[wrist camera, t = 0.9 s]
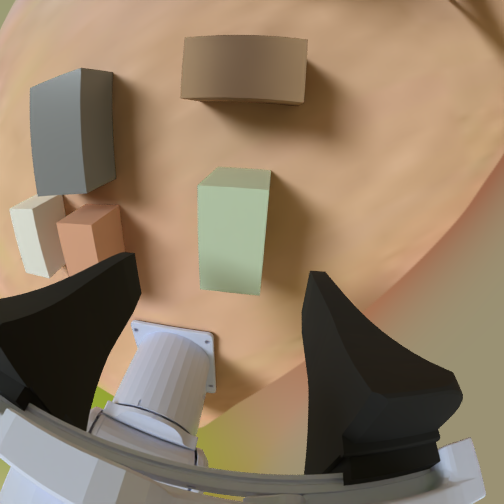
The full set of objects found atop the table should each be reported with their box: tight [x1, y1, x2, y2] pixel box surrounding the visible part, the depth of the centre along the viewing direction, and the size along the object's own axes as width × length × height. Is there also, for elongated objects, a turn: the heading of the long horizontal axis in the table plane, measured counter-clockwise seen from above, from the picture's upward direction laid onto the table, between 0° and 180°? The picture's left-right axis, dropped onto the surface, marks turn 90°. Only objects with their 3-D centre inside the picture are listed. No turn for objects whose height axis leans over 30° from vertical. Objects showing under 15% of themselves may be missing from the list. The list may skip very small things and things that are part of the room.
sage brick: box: [198, 167, 271, 295], centre depth 16 cm, size 6×3×5 cm, turn 177°
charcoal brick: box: [30, 68, 116, 197], centre depth 15 cm, size 8×5×4 cm, turn 178°
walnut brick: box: [180, 35, 308, 106], centre depth 13 cm, size 6×3×4 cm, turn 87°
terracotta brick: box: [56, 204, 125, 277], centre depth 19 cm, size 6×3×4 cm, turn 177°
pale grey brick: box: [10, 194, 66, 278], centre depth 19 cm, size 6×3×4 cm, turn 176°
